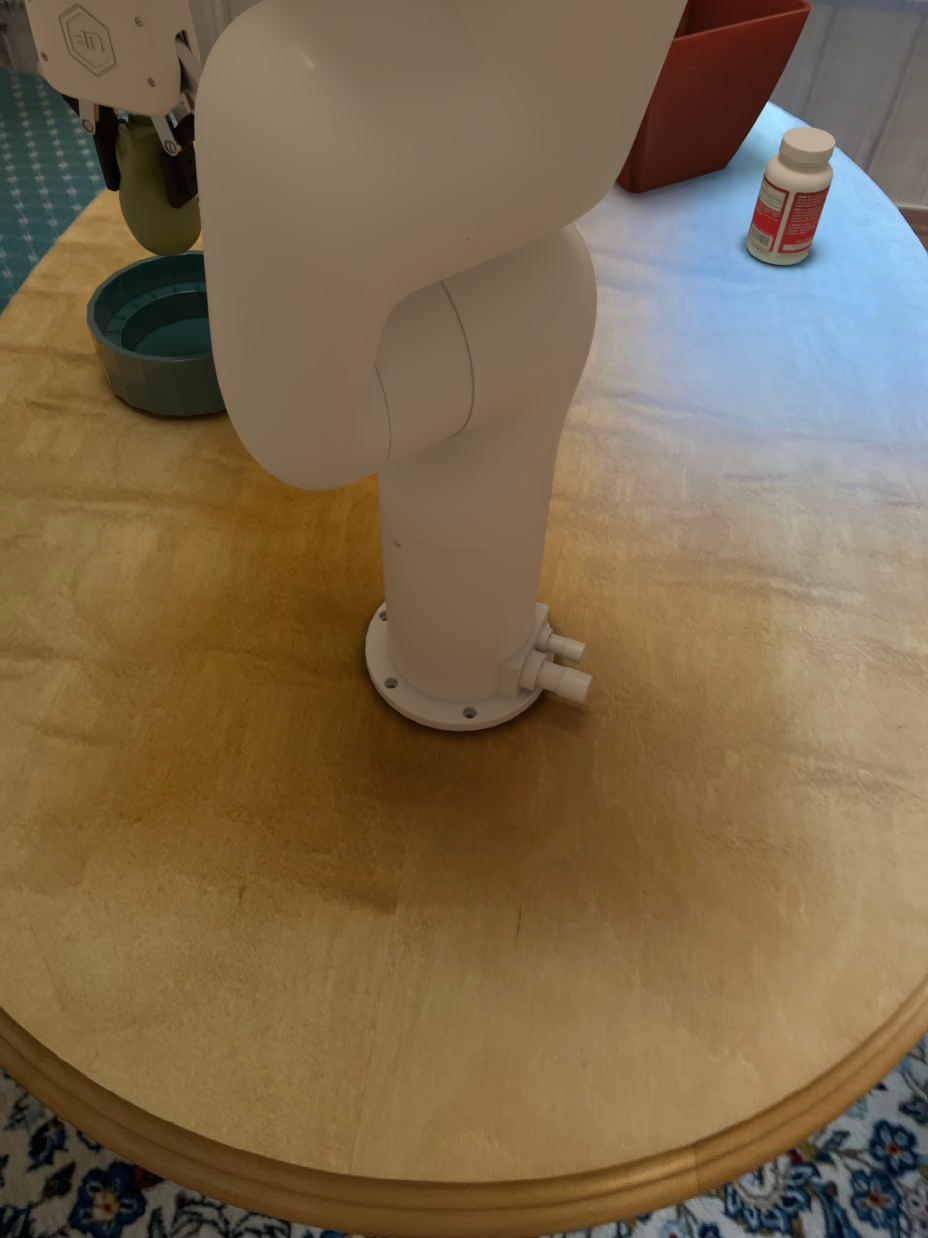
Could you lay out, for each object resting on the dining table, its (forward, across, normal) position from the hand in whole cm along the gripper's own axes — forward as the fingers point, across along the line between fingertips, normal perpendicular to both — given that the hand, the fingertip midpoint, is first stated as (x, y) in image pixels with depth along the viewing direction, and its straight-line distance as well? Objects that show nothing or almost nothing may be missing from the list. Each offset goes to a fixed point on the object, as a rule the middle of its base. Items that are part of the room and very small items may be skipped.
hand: (154, 188), depth 71 cm
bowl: (+16, 0, 0) cm, 16 cm away
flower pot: (+16, +25, +51) cm, 59 cm away
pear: (+5, 0, 0) cm, 5 cm away
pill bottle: (+16, +42, +39) cm, 60 cm away
